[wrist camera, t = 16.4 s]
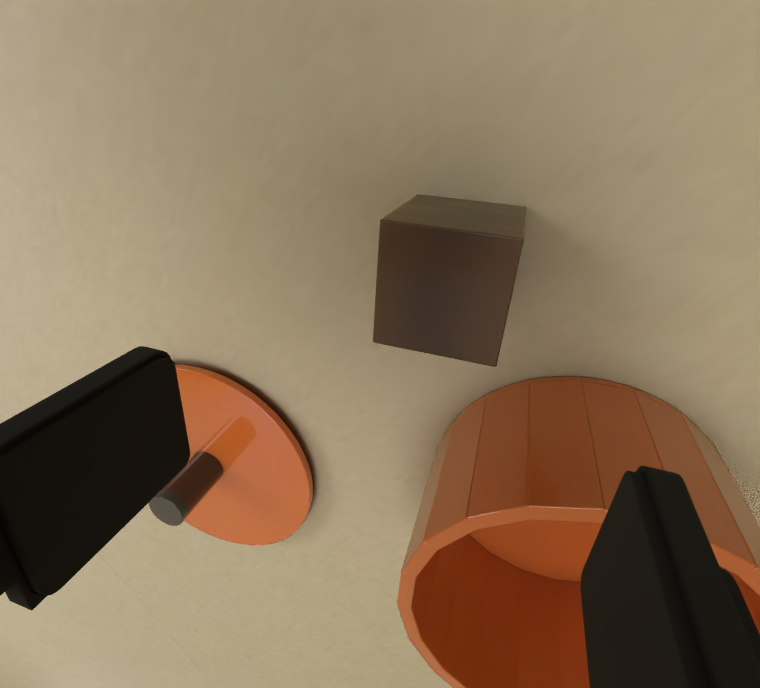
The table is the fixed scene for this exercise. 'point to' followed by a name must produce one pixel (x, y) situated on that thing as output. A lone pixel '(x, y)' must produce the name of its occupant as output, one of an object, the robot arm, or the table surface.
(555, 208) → the table surface
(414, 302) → the metal block
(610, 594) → the robot arm
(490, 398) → the pan
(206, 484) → the pan lid
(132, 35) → the table surface
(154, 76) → the table surface
